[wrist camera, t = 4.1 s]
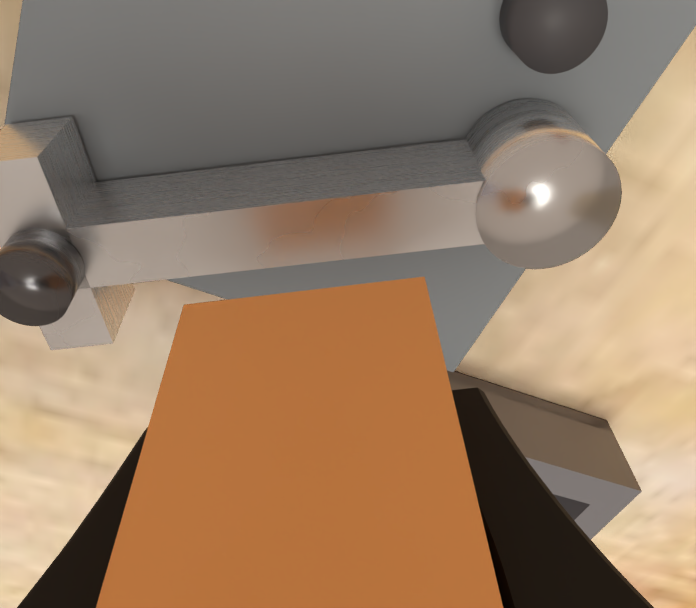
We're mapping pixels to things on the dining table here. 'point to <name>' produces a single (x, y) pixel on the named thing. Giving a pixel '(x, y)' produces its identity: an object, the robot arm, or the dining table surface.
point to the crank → (286, 213)
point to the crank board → (333, 99)
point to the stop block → (304, 462)
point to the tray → (565, 453)
